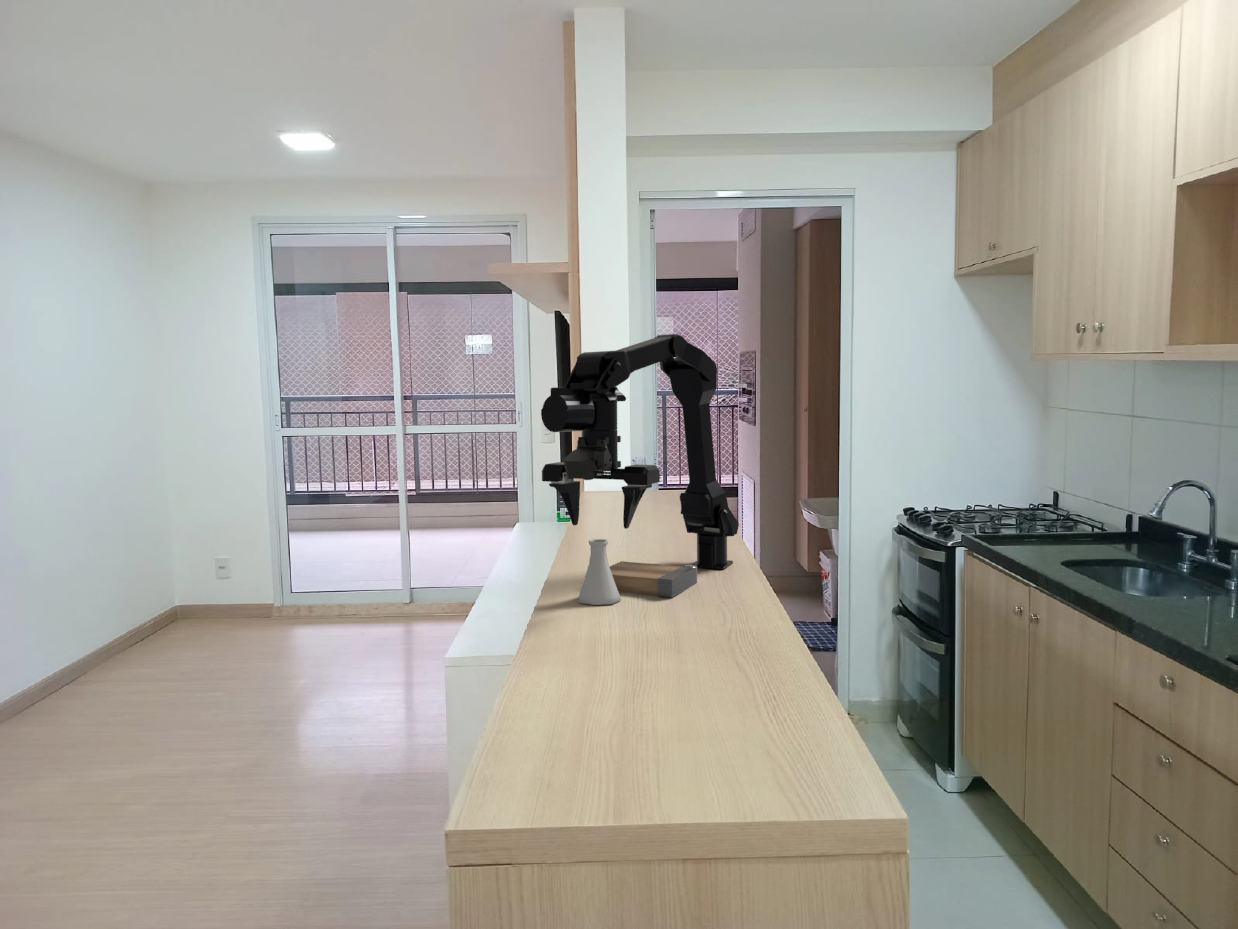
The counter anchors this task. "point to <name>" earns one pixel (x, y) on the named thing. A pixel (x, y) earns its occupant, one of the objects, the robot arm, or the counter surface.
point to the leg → (677, 581)
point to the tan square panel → (639, 577)
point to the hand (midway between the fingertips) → (600, 526)
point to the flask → (598, 577)
